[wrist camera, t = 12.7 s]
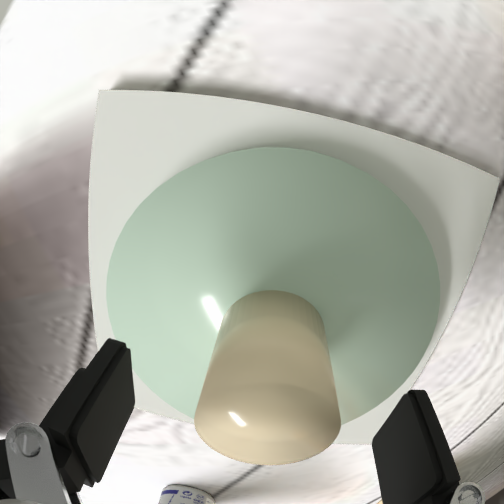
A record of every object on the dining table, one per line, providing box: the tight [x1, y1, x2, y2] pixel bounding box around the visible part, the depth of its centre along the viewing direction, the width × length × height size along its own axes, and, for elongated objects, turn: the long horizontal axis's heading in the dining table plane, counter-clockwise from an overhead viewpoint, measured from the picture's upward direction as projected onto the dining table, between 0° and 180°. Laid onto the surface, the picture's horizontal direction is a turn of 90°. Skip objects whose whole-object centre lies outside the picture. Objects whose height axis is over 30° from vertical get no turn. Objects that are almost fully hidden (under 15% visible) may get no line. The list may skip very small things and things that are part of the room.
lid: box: [106, 147, 440, 465], centre depth 11 cm, size 15×15×6 cm
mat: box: [88, 90, 500, 445], centre depth 14 cm, size 18×18×1 cm
